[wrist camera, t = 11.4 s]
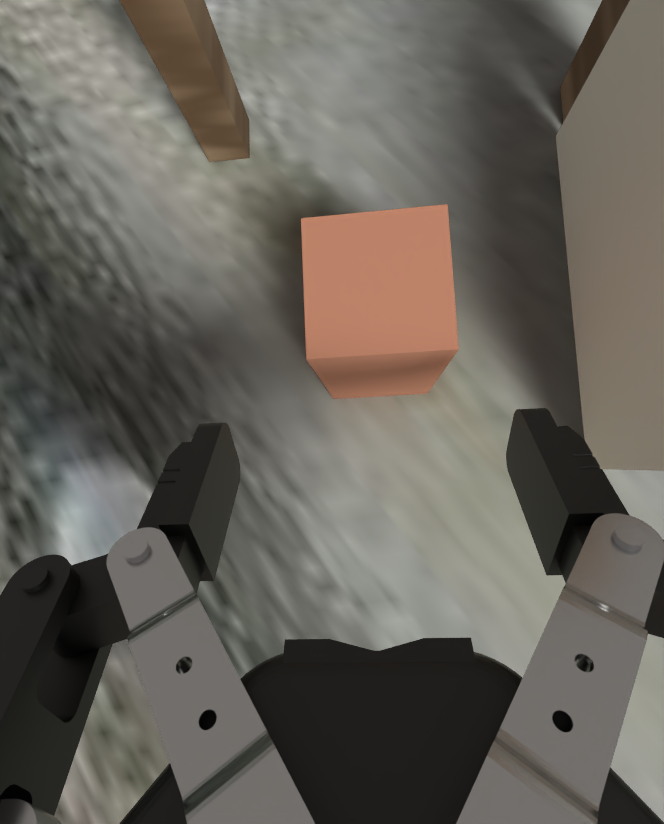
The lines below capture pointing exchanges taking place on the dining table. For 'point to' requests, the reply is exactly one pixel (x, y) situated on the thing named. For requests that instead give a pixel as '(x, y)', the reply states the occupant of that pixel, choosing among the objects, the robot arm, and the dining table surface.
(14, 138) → the dining table surface
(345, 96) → the dining table surface
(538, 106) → the dining table surface
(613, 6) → the door frame
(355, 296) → the salmon orange block
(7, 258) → the dining table surface
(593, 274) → the door
